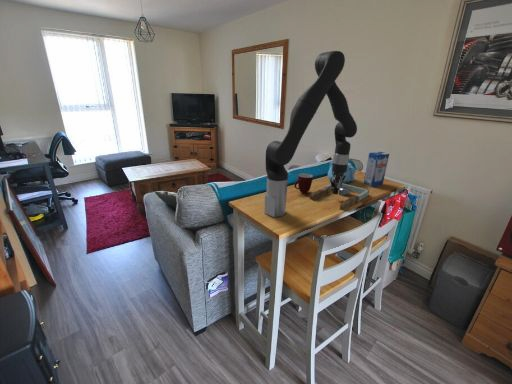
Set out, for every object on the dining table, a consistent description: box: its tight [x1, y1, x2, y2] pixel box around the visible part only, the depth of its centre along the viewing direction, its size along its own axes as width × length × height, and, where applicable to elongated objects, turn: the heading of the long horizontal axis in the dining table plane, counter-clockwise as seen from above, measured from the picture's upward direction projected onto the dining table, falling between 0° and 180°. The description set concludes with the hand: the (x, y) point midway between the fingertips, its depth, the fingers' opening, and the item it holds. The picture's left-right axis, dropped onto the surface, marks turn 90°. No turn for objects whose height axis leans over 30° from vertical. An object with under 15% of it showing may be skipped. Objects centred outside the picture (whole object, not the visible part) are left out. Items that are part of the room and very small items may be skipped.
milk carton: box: [363, 151, 390, 188], centre depth 157 cm, size 10×6×20 cm, turn 115°
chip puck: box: [338, 187, 351, 197], centre depth 143 cm, size 6×6×4 cm
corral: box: [324, 183, 370, 202], centre depth 144 cm, size 13×20×3 cm, turn 46°
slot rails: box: [309, 186, 358, 211], centre depth 134 cm, size 16×19×3 cm
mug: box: [293, 173, 313, 194], centre depth 143 cm, size 11×8×10 cm
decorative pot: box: [327, 161, 356, 184], centre depth 163 cm, size 16×16×14 cm
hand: (335, 193), depth 135 cm, fingers closed
